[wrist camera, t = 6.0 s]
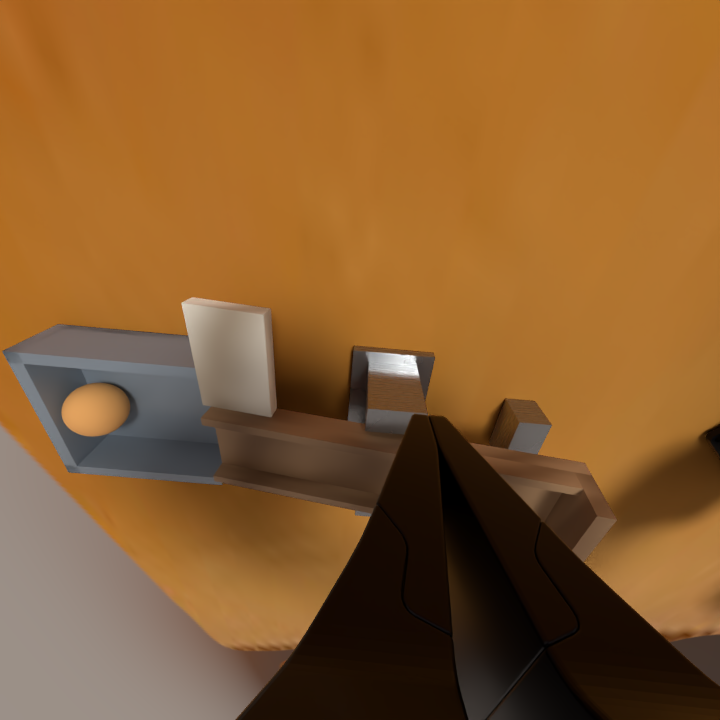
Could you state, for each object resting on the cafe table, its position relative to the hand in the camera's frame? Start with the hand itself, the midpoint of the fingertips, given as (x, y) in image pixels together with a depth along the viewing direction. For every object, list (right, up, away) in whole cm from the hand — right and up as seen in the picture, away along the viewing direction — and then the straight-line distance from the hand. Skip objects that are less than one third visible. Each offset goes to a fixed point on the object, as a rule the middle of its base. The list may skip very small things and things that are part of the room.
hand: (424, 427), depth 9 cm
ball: (-19, -1, +12) cm, 22 cm away
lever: (0, -1, +10) cm, 10 cm away
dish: (-16, 0, +14) cm, 21 cm away
